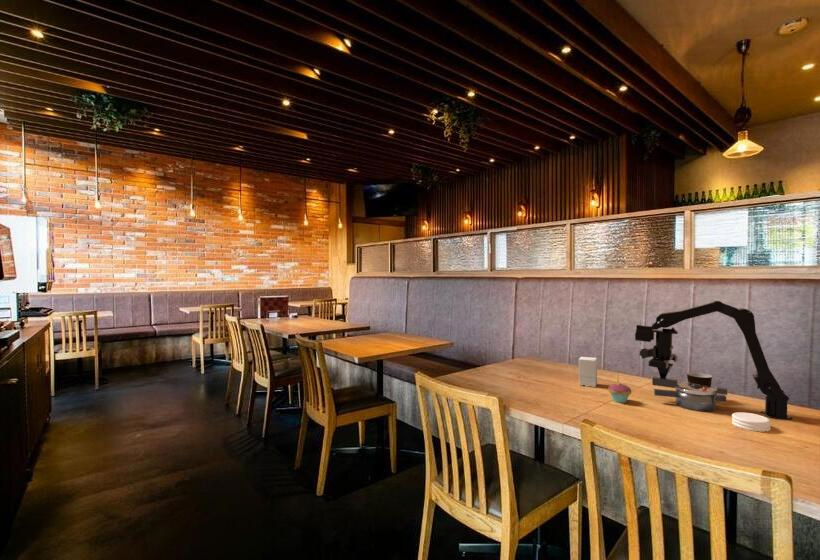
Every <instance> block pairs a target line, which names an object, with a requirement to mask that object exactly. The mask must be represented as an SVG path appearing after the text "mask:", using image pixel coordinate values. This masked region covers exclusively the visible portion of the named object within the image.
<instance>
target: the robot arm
mask: <svg viewBox="0 0 820 560" xmlns="http://www.w3.org/2000/svg"><path fill="white" fill-rule="evenodd" d="M717 312H718V313H720V314H723V315H726V316H727V317H729V318H732V319H734V322H735V323H736V324H737V326H738V328H739V329H740V331H741V333H742V335H743V337H744V341H745V342H746V345H747V348H748V351H749V354H750V357H751V359H752V362H753V365H754V367H755V374H751V376H752V377H753V380H754V385H755V387H756V389H757V390H760V391H761V393H762V394H764V395H765V401H764V402H765V405H764V406H765V410H761V411H760V413H761V414H763V415H765V416H766V417H769V418H771V419H780V420H781V419H783V420H793V417H792V416H790V415H788V401H789V400H790V396H788V394H787V393H786V392H785V391H784V390H783V389H782V388H781V386H780V384H779V382H778V380H777V379H776V377H775V375H774V374H773V373H772V371H771V370H770V368H769V366H768V362H767V359H766V357H765V354H764V351H763V349H762V345H761V343H760V341H759V337H758V335H757V333H756V321H755V314H753V312H752V311H751V310H749V309H748V308H744V307H739V308H738V307H734V306H732V305H729V304H726V303H724V302H722V301H720V300H714V301H711V302H709V303H704V304H701V305H698V306H697V305H696V306H695V307H694V306H693V307H690V308H687V309H682V310H677V311H676V310H675V311H668V312H667V311H666V312H661V313H659V314H658V315H657V316H656V317H655V322H654V323H652V324H651V325H650V326H649V325H642V324H637V325H636V328H635V333H634V338H635V339H634V340H635V341H636V342H645V343H652V341H654V340H655V345H653V347H652V348H641V349H640V351H639V356H640V357H641V358H642V359H646V358H651V357H652V359H650V360H648V366H649V367H652V368H657V371H658V374H659V377H660V378H667V376H668V375H669V373H670V372H671V370H672V368H673V366H674V363H670V361H673V362H675V363H676V362H677V361H678V355H676V353H672V352H673V349H674V346H673V335H678V334H679V331H678V330H677V329H675V327H672V326H675V325H676V324H678V323H681V322H682V321H685V320H689V319H693V318H697V317H701V316H704V315H708V314H712V313H717ZM669 327H671V328H669ZM660 328H661V329H660Z"/></svg>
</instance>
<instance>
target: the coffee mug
mask: <svg viewBox="0 0 820 560" xmlns="http://www.w3.org/2000/svg"><path fill="white" fill-rule="evenodd" d="M686 378H687V383H691V384H692V383H696V384H700V385H705V386H709V387H712V379H713V376H712V375H711V374H707V373H702V372H686Z"/></svg>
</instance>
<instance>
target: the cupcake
mask: <svg viewBox="0 0 820 560" xmlns="http://www.w3.org/2000/svg"><path fill="white" fill-rule="evenodd" d="M607 388H608V393H609V394H610V395H611V398H612V400H613V401H614V402H615V403H619V402H620V404H621V403H622V404H624V403H625V404H626V403H627V402H628V398H629V396H630V395H631V394H632V389H631V388H630V386H627V384H624V383H620V381H619V374H618V373H616V383H612V384H610V385H609V386H608V387H607Z"/></svg>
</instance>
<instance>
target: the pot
mask: <svg viewBox="0 0 820 560" xmlns="http://www.w3.org/2000/svg"><path fill="white" fill-rule="evenodd" d="M653 394H654V396H658V397H671V398H675V405H676V406H677V405H678V407H679V408H682V409H685V410H689V411H695V412H701V413H703V412H704V413H711V412H712V413H713V412H716V411H717V402H724V403H725V402H727V396H726V395H724V394H716V395H695V394H689V393H685V392H681V391H678V390H676V389H675V390H672V389H671V390H669V389H662V388H661V389H660V388H659V389H656V388H653Z"/></svg>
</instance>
